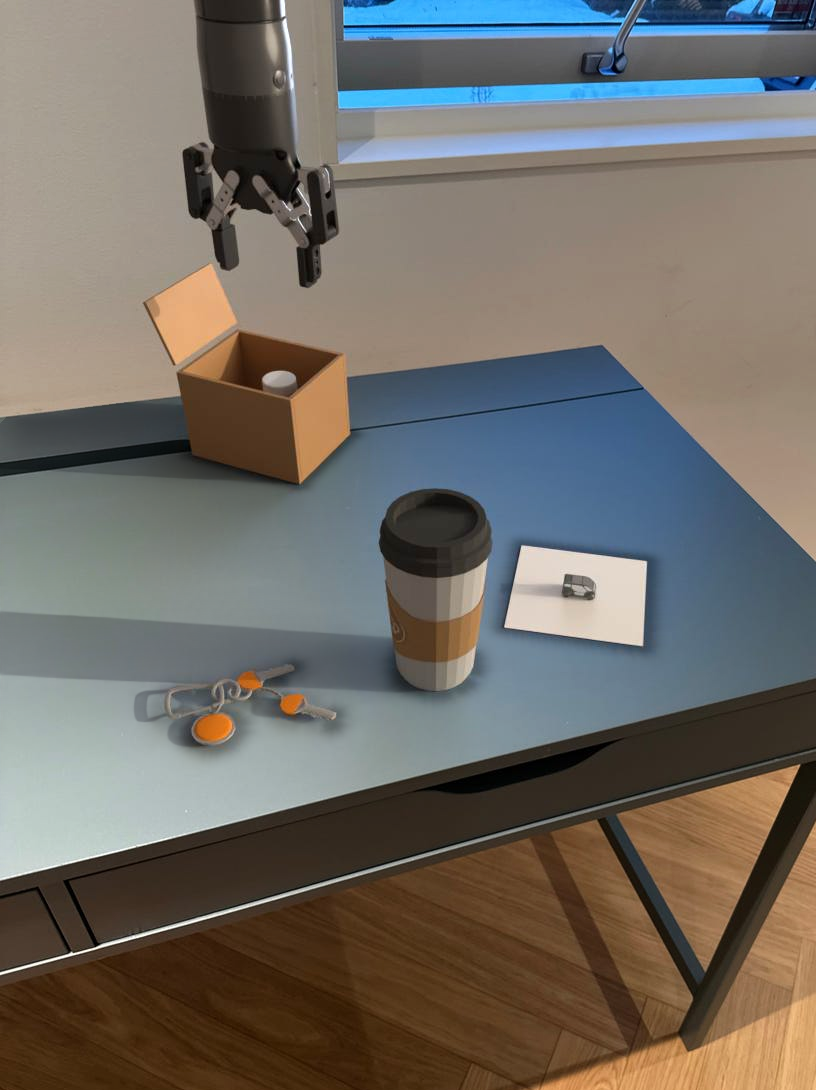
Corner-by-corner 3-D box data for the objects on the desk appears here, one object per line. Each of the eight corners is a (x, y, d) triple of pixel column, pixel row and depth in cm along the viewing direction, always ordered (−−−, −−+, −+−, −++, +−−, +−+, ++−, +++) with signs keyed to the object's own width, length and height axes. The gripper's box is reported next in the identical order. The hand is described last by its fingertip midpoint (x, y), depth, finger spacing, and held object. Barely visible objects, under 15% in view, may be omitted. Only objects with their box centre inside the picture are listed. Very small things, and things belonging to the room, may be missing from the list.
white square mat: (642, 646, 80) (645, 633, 79) (504, 627, 81) (505, 614, 80) (646, 561, 89) (649, 548, 88) (521, 545, 90) (522, 532, 89)
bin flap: (176, 365, 92) (173, 365, 92) (237, 322, 100) (234, 323, 100) (145, 302, 89) (142, 302, 89) (211, 262, 96) (208, 263, 96)
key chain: (166, 753, 69) (164, 746, 69) (164, 684, 74) (162, 677, 74) (338, 725, 72) (337, 718, 71) (325, 660, 77) (324, 653, 76)
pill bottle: (307, 455, 99) (299, 388, 94) (264, 455, 99) (255, 389, 93) (308, 433, 102) (302, 367, 97) (268, 433, 102) (258, 368, 97)
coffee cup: (374, 642, 79) (365, 493, 69) (468, 624, 81) (473, 477, 71) (398, 712, 73) (393, 560, 63) (499, 690, 75) (510, 541, 65)
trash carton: (192, 455, 99) (175, 372, 93) (249, 408, 107) (237, 328, 100) (299, 484, 96) (290, 400, 90) (350, 434, 104) (345, 353, 97)
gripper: (346, 83, 78) (355, 277, 89) (201, 60, 81) (226, 249, 92) (300, 102, 73) (315, 306, 84) (147, 77, 76) (181, 275, 87)
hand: (268, 276), depth 88 cm, fingers open, 8 cm apart
